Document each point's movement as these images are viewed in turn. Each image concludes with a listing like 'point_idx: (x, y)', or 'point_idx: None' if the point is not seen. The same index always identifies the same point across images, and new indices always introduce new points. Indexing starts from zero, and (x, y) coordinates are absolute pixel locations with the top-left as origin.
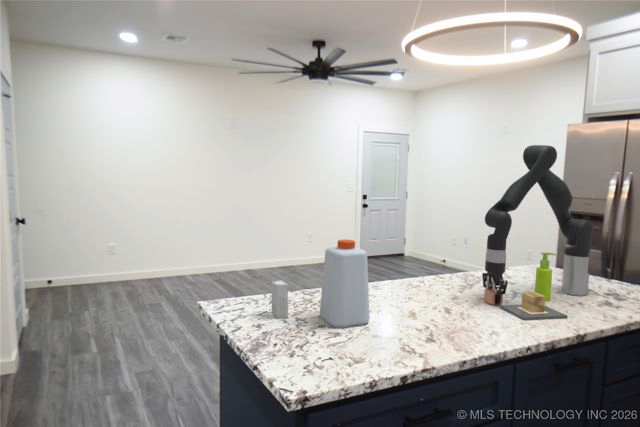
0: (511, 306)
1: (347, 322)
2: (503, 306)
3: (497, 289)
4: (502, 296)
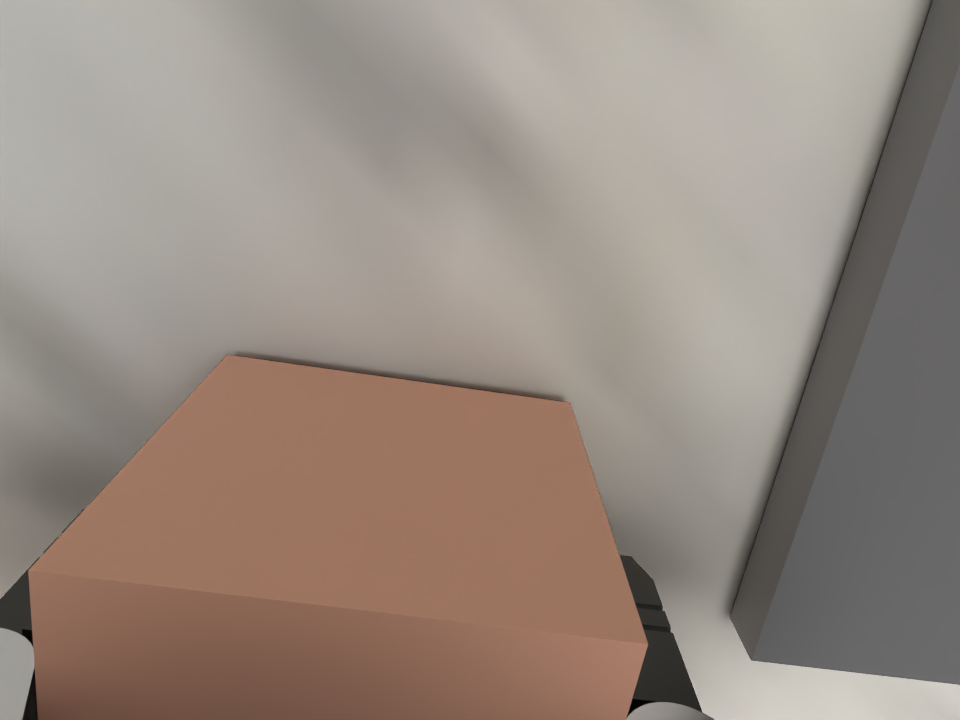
0: (946, 462)
1: None
2: (846, 638)
3: (201, 599)
4: (602, 535)
